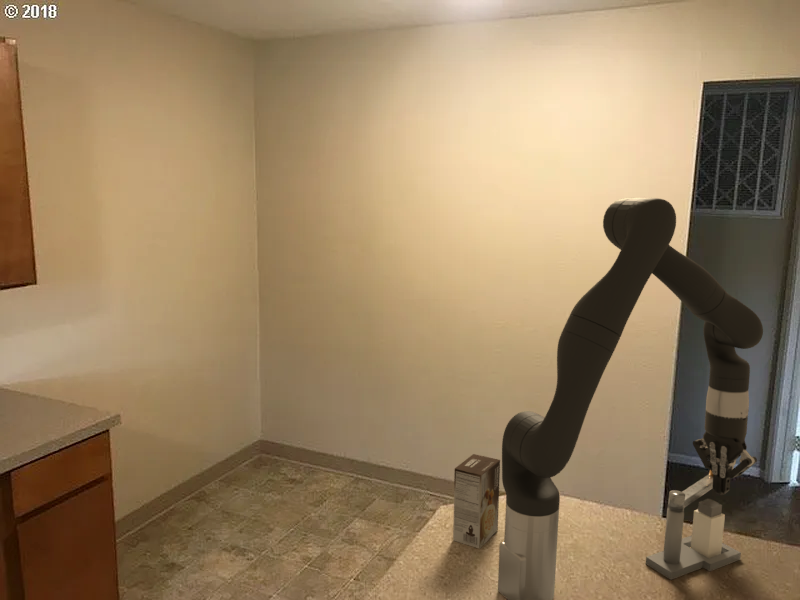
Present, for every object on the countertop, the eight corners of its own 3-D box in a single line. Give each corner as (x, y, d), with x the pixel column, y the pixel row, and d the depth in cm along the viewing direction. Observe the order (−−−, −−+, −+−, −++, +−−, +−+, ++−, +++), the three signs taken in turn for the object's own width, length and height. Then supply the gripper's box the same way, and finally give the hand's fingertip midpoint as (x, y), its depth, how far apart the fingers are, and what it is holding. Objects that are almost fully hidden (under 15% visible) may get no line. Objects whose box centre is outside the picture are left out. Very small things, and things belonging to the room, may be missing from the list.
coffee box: (471, 522, 148) (473, 452, 145) (498, 530, 144) (501, 459, 142) (451, 540, 140) (453, 467, 137) (480, 550, 137) (482, 475, 134)
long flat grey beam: (679, 513, 127) (681, 493, 127) (665, 508, 129) (667, 488, 129) (722, 483, 140) (724, 464, 140) (709, 478, 142) (711, 460, 142)
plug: (707, 561, 133) (712, 509, 132) (690, 551, 137) (694, 501, 135) (720, 556, 135) (726, 505, 133) (703, 547, 139) (708, 496, 137)
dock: (677, 584, 126) (682, 525, 124) (639, 560, 134) (644, 504, 132) (740, 559, 134) (746, 503, 132) (701, 538, 142) (706, 485, 140)
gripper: (685, 404, 137) (680, 485, 140) (747, 423, 126) (740, 510, 129) (708, 398, 141) (703, 477, 144) (770, 416, 130) (763, 501, 132)
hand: (720, 492), depth 136 cm, fingers closed
